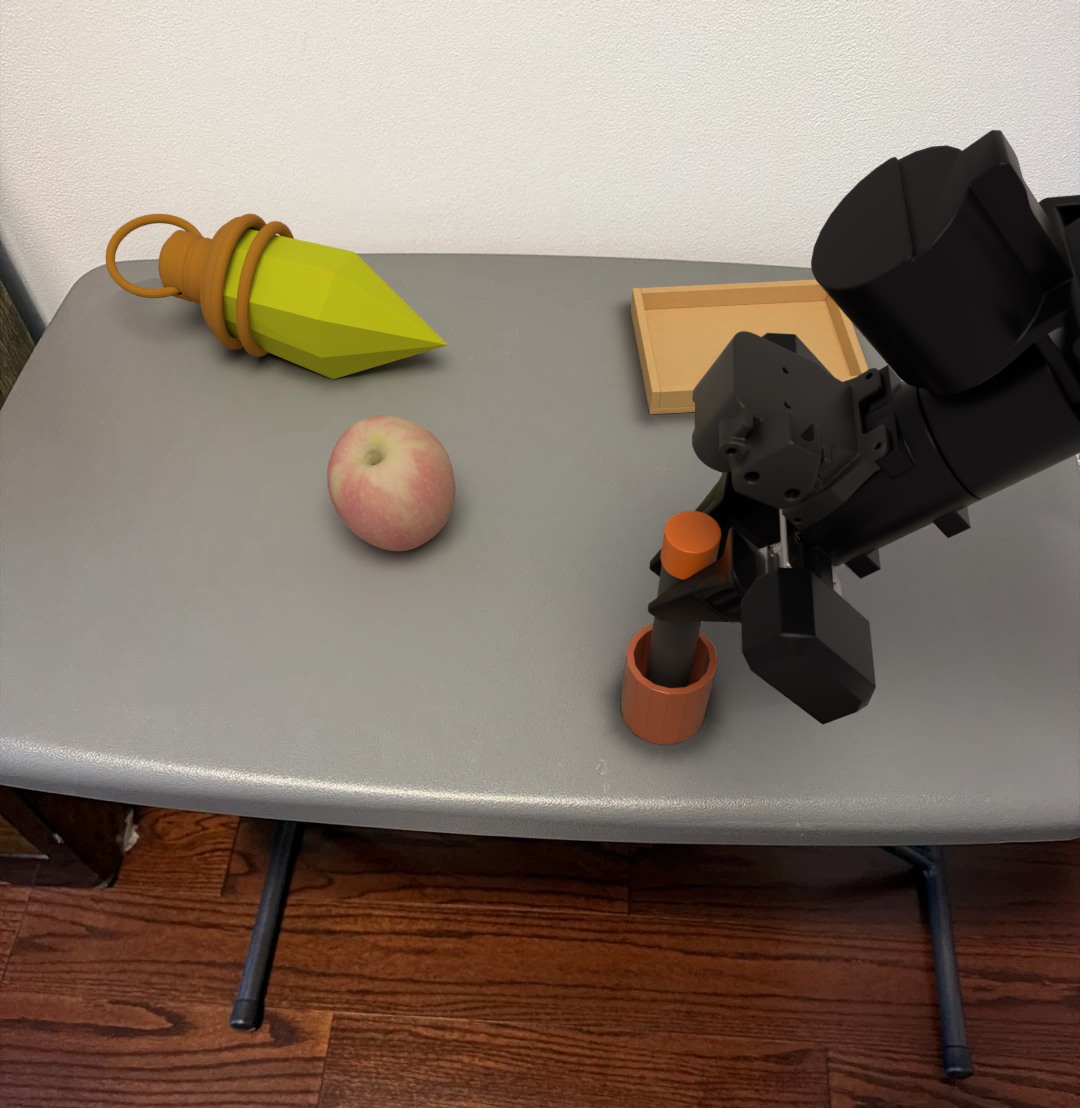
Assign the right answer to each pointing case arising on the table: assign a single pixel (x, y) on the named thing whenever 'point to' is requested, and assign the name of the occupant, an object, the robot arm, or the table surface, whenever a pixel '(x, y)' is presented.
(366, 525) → the apple
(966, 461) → the robot arm
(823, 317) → the tray
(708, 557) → the cylinder
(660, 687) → the pen cup
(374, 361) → the plumb bob
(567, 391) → the table surface
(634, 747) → the table surface
